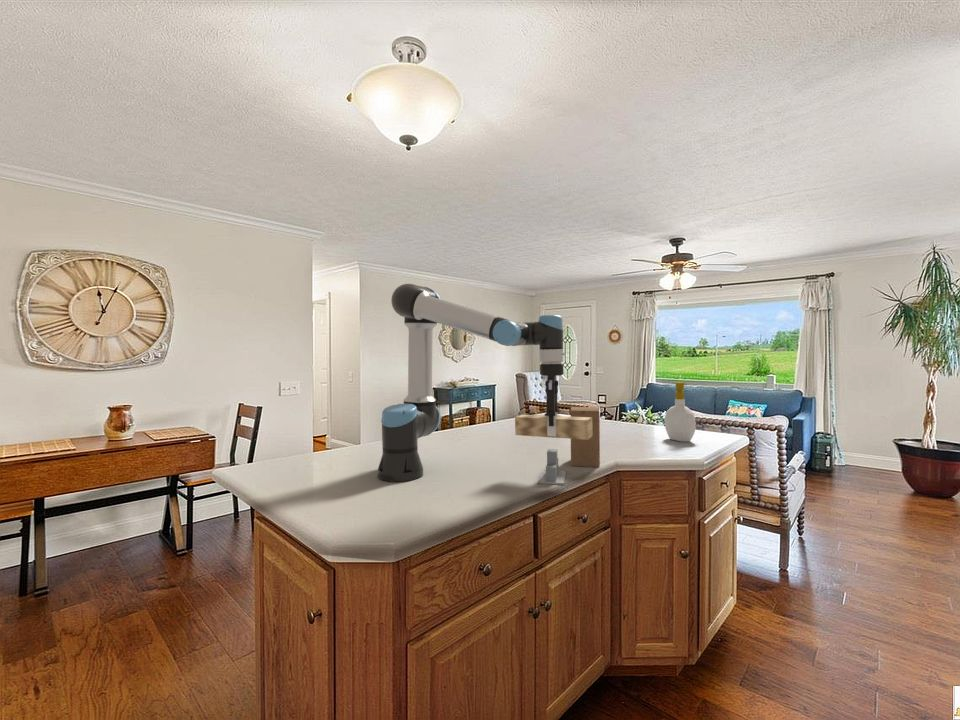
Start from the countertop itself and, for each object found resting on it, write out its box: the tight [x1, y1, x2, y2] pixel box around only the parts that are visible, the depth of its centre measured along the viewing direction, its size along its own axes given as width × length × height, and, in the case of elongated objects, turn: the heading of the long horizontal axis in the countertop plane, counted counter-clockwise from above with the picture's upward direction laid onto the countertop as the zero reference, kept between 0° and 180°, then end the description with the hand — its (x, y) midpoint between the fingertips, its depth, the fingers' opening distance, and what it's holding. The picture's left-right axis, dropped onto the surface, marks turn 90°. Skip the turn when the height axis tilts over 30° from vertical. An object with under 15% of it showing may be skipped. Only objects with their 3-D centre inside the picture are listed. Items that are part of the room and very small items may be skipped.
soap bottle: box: [664, 381, 697, 443], centre depth 204 cm, size 14×9×26 cm, turn 32°
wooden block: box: [570, 406, 601, 468], centre depth 167 cm, size 10×10×20 cm
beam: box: [514, 414, 593, 440], centre depth 148 cm, size 24×6×6 cm, turn 62°
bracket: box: [537, 448, 567, 486], centre depth 149 cm, size 8×14×9 cm, turn 166°
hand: (552, 433), depth 148 cm, fingers closed on beam, 7 cm apart
